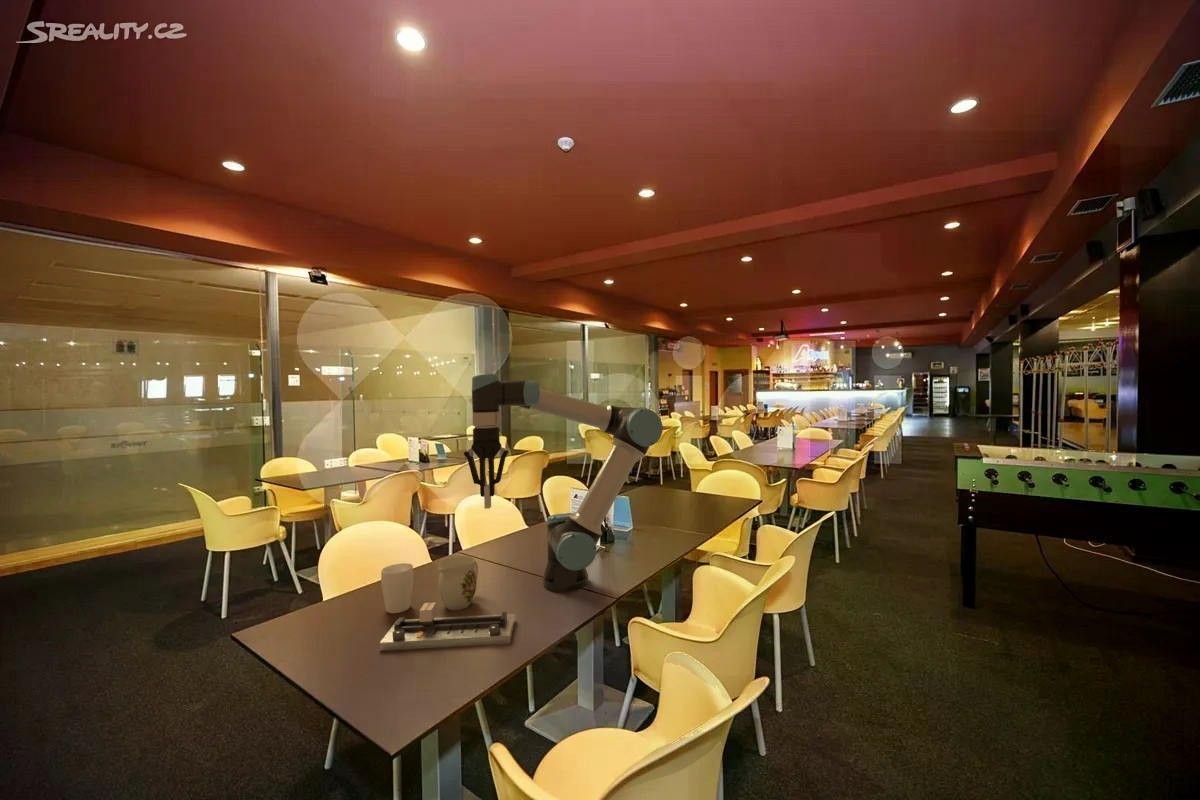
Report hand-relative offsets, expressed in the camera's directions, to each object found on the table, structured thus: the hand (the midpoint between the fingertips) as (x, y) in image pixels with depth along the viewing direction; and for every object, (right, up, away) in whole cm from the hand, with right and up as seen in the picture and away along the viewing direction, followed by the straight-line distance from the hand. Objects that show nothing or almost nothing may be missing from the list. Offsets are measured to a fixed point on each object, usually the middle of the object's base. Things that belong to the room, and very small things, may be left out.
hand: (487, 507), depth 137 cm
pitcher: (-10, -31, +5) cm, 33 cm away
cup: (-28, -31, +3) cm, 42 cm away
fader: (-13, -29, -13) cm, 34 cm away
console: (-6, -31, -13) cm, 34 cm away
